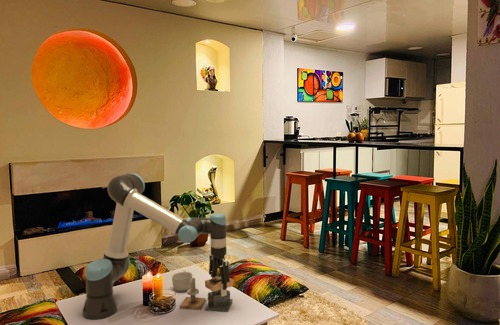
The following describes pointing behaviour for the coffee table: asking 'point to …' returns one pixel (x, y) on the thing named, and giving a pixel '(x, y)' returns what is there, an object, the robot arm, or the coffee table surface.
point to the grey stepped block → (218, 300)
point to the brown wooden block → (216, 284)
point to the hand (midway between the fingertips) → (219, 292)
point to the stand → (192, 298)
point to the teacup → (181, 281)
